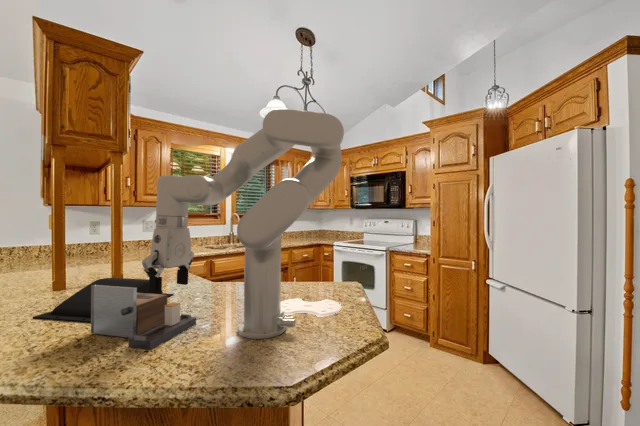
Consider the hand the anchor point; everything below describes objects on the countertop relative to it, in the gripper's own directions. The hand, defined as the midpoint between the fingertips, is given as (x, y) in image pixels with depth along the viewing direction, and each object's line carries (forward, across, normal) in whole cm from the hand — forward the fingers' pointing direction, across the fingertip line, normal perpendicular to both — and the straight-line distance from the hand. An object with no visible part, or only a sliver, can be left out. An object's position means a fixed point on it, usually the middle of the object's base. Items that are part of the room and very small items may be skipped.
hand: (169, 288), depth 77 cm
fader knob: (+9, 0, -1) cm, 9 cm away
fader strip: (+11, -2, -1) cm, 12 cm away
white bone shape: (+11, +28, -30) cm, 43 cm away
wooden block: (+12, 0, +11) cm, 16 cm away
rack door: (+11, -7, +11) cm, 17 cm away
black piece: (+13, +14, +34) cm, 40 cm away
